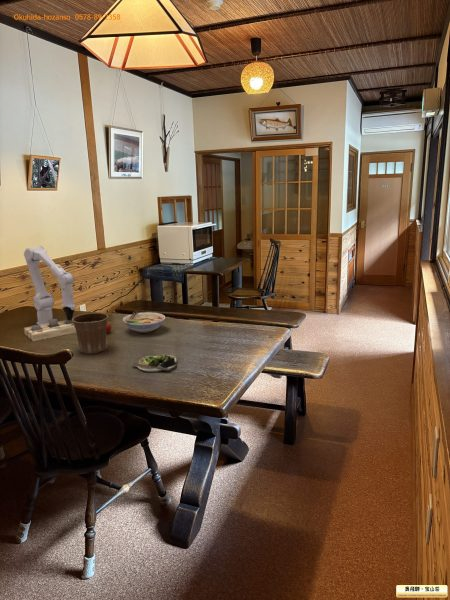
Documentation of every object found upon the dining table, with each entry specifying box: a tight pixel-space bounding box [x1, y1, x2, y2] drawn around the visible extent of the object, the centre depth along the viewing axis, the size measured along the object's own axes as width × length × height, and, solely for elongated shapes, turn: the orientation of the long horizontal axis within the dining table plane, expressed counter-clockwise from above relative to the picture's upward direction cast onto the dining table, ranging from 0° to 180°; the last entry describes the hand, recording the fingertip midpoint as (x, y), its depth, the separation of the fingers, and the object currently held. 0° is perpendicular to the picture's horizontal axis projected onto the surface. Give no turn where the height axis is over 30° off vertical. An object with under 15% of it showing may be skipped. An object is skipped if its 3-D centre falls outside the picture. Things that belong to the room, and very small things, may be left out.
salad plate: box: [130, 354, 178, 373], centre depth 188 cm, size 19×18×5 cm
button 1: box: [30, 324, 41, 331], centre depth 228 cm, size 4×4×4 cm
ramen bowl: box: [122, 309, 166, 334], centre depth 235 cm, size 25×23×8 cm
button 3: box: [65, 318, 74, 325], centre depth 239 cm, size 4×4×4 cm
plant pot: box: [72, 312, 109, 355], centre depth 205 cm, size 16×16×16 cm
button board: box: [23, 319, 77, 342], centre depth 233 cm, size 15×27×4 cm, turn 130°
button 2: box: [49, 318, 59, 328], centre depth 233 cm, size 4×4×4 cm
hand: (69, 319), depth 239 cm, fingers closed, pressing on button 3
